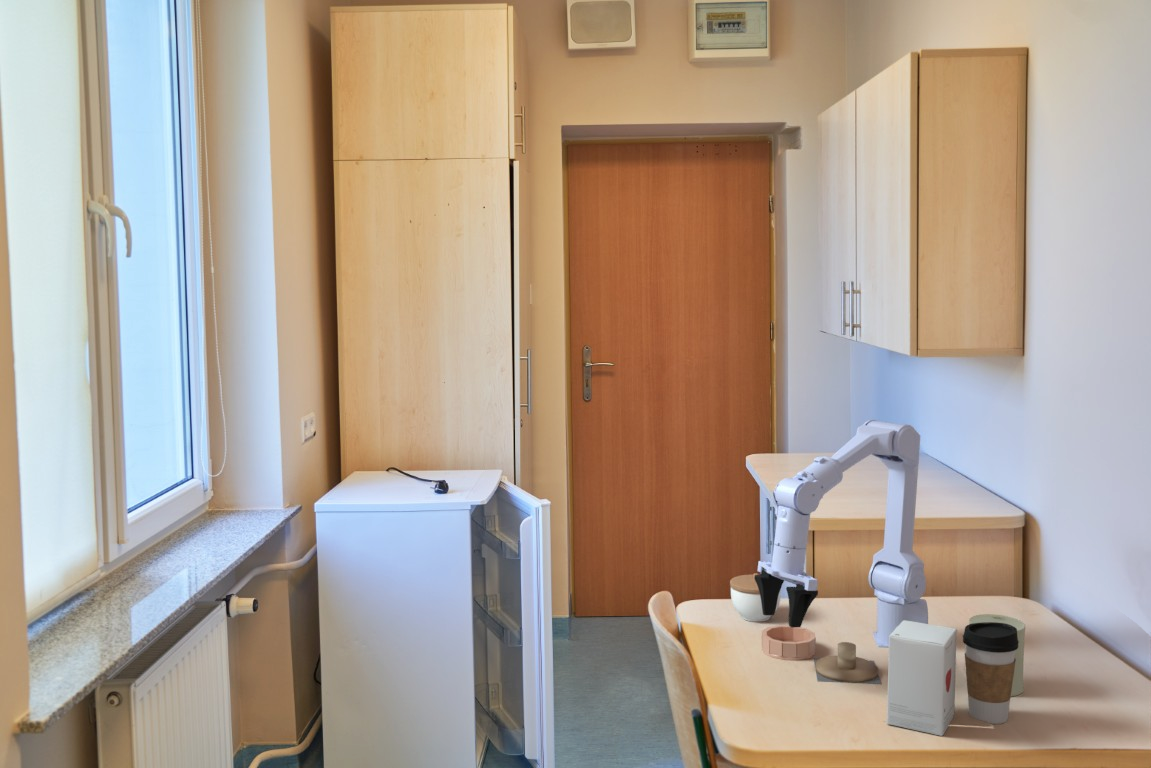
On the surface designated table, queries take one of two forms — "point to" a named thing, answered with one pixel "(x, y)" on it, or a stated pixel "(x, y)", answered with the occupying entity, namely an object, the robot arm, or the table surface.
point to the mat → (823, 679)
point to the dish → (788, 642)
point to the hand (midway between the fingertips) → (781, 620)
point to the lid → (846, 666)
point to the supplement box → (921, 677)
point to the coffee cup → (990, 669)
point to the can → (1019, 653)
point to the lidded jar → (748, 598)
